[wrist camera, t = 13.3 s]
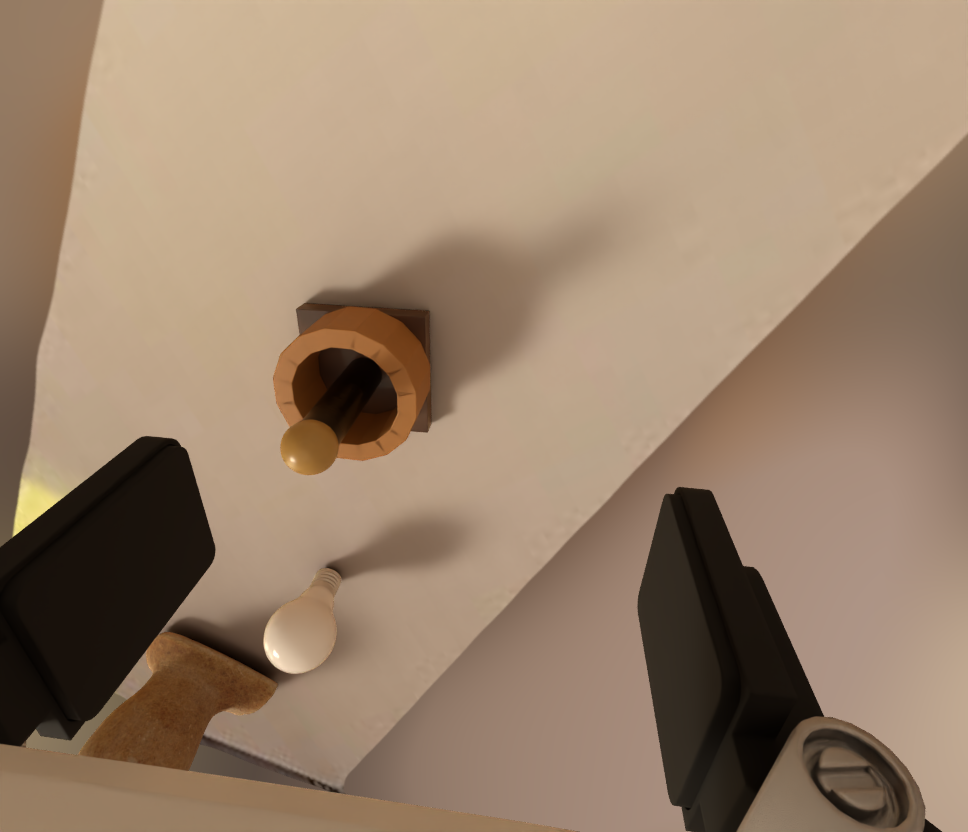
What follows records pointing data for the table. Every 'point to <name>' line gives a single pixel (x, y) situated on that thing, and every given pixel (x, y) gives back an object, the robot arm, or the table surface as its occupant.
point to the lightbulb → (304, 627)
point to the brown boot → (177, 704)
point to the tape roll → (375, 340)
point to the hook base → (339, 358)
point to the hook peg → (330, 419)
